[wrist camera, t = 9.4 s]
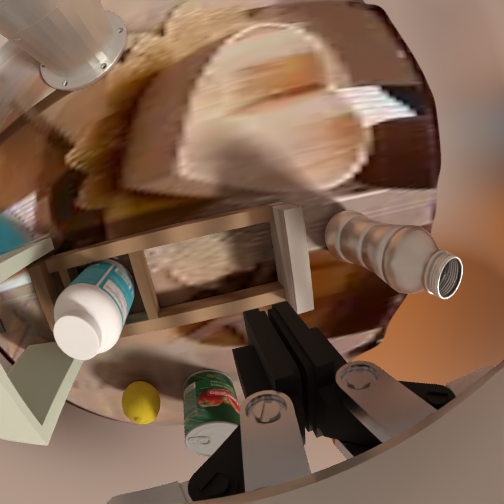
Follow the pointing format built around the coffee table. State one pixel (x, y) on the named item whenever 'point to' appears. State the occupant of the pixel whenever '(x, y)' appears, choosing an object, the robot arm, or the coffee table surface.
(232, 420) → the canned tomato
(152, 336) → the coffee table surface
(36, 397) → the tunnel
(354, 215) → the plastic bottle
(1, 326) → the mat
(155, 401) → the lemon
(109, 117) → the coffee table surface
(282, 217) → the wooden compartment tray
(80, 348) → the pill bottle
